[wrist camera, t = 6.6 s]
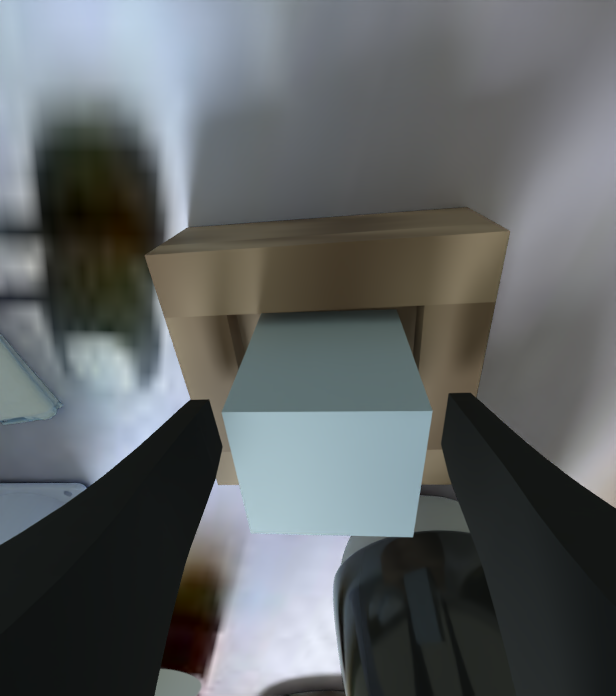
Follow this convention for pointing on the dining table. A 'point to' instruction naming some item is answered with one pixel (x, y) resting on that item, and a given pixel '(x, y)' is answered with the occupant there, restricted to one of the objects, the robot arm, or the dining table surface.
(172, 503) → the robot arm
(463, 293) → the square wooden tray
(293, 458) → the blue block
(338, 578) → the dark grey egg shape
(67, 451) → the dining table surface
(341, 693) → the plant saucer
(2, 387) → the paper napkin stack
